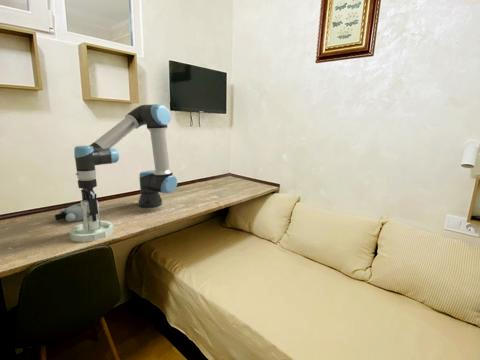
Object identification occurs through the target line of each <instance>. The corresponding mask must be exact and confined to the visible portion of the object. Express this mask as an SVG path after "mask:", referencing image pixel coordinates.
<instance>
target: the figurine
mask: <svg viewBox="0 0 480 360" xmlns="http://www.w3.org/2000/svg"><path fill="white" fill-rule="evenodd" d="M54 218H55V220H56V221H61V220H66V221H67V222H80V221H83V217H82V208H81V202H80V203H76V204H72V205H70V206H68V207H67V208H62V209H60V211H59V213H56V214H55V215H54Z"/></svg>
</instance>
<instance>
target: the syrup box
mask: <svg viewBox="0 0 480 360" xmlns="http://www.w3.org/2000/svg"><path fill="white" fill-rule="evenodd" d="M80 203H81V208H82V217H83V220H82V224H83V226H84V229H85V230H87V231H88V232H89V231H93V230H97V229H100V228H101V227H100V221H101V219H100V207H99V201H98V200H97V207H98V214H97V223H98V227H94V228H91V222H90V216H89V214H90V209H89V203H88V201H86V200H84V201H82V200H81V201H80Z"/></svg>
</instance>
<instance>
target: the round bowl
mask: <svg viewBox="0 0 480 360" xmlns="http://www.w3.org/2000/svg"><path fill="white" fill-rule="evenodd" d="M114 225H115V224H114V223H112V222H111V221H110V220H109V221H108V220H100V227H101V228H100V229H97V230H93V231H89V232H88V231H87V230H85V229H84V226H83V223H80V224H77V225H75V226H73V227H72V228H71V229H70V230H69V231H68V234H69V238H70V239H71V241H72V242H79V243H85V242H95V241H99V240H102V239H106V238H107V237H109V236H111V235H112V234H113V233H114V230H115V226H114Z"/></svg>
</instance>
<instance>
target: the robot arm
mask: <svg viewBox="0 0 480 360" xmlns="http://www.w3.org/2000/svg"><path fill="white" fill-rule="evenodd" d="M170 121H171V113H170V111H169V109H168V108H167V107H166V106H165V105H163V104H156V103H155V104H141V105H139V106H137V107H135V108H134V109H132V110H131V111H130V112H128V113H126V114H125V116H124V118H123V119H122V120H121V121H120V122H118V123H117V124H116V125H115V126H114V125H113V127H112V128H110V129H109V130H108V131H106V132H104V134H103V135H101V136H100V137H98V138H97V139H96V140H95V141H93V142H92V143H91V144H89V145H77V146H75V147H74V160H75V167H76V168H75V169H76V173H75V176H76V177H77V179H78V180H77V187H78V188H79V189H81V190H80V192H81V198H82V199H81V201H84V200H86V201H88V203H89V209H90V214H89V216H90V222H91V228H94V227H98V223H97V214H98V207H97V201H98V200H97V193H95V191H94V189H95V188H97V186H98V183H97V179H96V178H97V171H96V166H101V165H112V164H116V163H118V162H119V159H120V155H119V151H118V150H117V149H116V148H113V147H114V146H115V145H116V144H118V143H119V142H120V141H121V140H123V138H125V137H126V136H127V135H129V134H130V133H131V132H133V130H135V129H139V128H140V127H142V126H145V125H146V129H147V130H148V131H149V132H150V139H151V140H150V141H151V148H152V156H153V163H154V170H146V171H144V170H143V171H141V172H140V173H139V177H138V179H139V190H140V195H139V199H138V204H137V205H138V207H139V208H143V209H145V208H146V209H151V208H152V209H153V208H157V207H160V206H162V205H163V200H162V197H161V195H160V193H162V194H171V193H173V192H174V191H175V190H176V188H177V186H178V179H177V177H176V176H175V175H173V170H172V169H171V168H170V162H169V153H168V145H167V144H168V143H167V137H166V134H167V133H166V130H167V129H168V125H169V123H170Z"/></svg>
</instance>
